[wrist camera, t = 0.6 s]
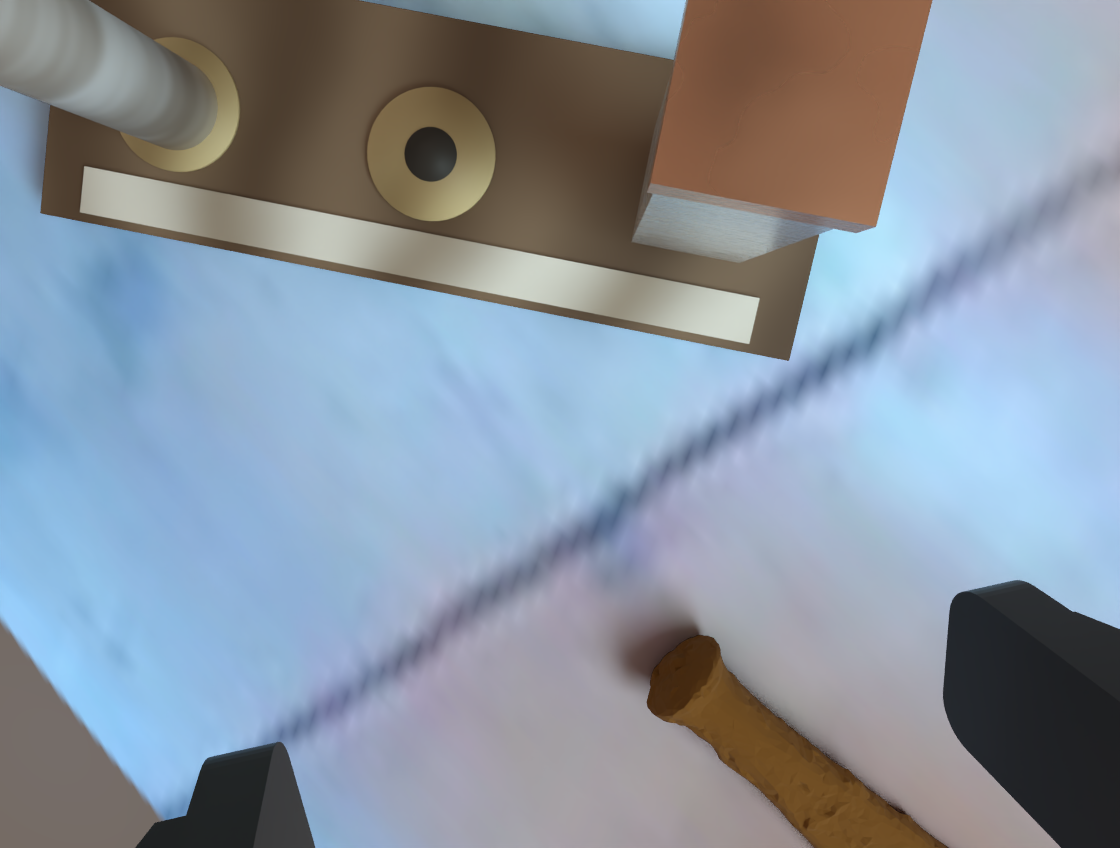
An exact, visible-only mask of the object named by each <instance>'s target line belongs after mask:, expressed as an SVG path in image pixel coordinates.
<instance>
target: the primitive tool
mask: <svg viewBox="0 0 1120 848" xmlns="http://www.w3.org/2000/svg"><path fill="white" fill-rule="evenodd" d="M650 686H651V687H650V691H649V695H648V699H647V706H648V708H649V709H650V711H651V712H652V713H653V714H654V715H655V716H657V717H659V718H660V719H662V720H663V721H666V722H670V723H677V724H679V725H683V726H686V727H688V728H689V729H691V730H692V731H693V732H694V733H695V734H697V735H698V736H699V737H700V738H702V739H704V740H706V741H707V742H708V743H710V744H711V745H712V747H713V748H714V750H715V751H716V752H717V755H718V757H719V759H720V760H721V761H722V762H724V763H725V764H726V765H727V766H728V767H730V768H731V769H733V770H734V771H736V772H737V773H738V774H740V775H741V776H743V777H744V778H746V779H747V780H749V781H750V782H751V783H752V784H753V785H755V786H756V787H757V788H758V789H759V790H760V791H761V792H762V793H763V794H764V795H765V796H766V797H767V798H768V799H769V800H770V801H771V802H772V803H773V804H774V805H775V806H776V807H777V808H778V809H779V810H780V811H781V812H782V813H783V815H784V816H785V817H786V818H787V819H788V821H789V822H790V823H791V824H792V825H793V826H794V827H795V828H796V829H797V830H798V831H799V832H800V833H801V834H802V835H803V836H804V837H805V838H806V839H807V840H808V841H809V842H810V843H811V844H812V845H813V847H814V848H948V847H947V846H945V845H944V844H942V843H941V842H939V841H938V840H936V839H935V838H933V837H932V836H931V835H929V834H928V833H927V832H926V831H924V830H923V829H922V828H921V827H920V826H919V825H918V824H917V823H916V822H915V821H913V820H912V818H911V817H910V816H909V815H905V814H901V813H899V812H898V811H896V810H894V809H893V808H892V807H891V806H890V805H889V804H888V803H887V802H886V801H885V800H884V799H882V798H881V797H879V796H878V795H877V794H875V793H874V792H872V791H871V790H869V789H868V788H867V787H866V786H865V785H863V783H862V782H861V781H859V780H858V779H857V778H856V777H855V776H854V775H853V774H852V773H851V772H850V771H849V770H848V769H844V768H843V767H841V766H840V765H838V764H837V763H835V762H834V761H832V760H831V759H829V758H828V757H826V756H825V755H824V754H823V753H822V752H821V751H820V750H819V749H818V748H816V747H815V746H813V745H812V744H810V742H809V741H808V740H807V739H805V738H804V737H802V736H801V735H799V734H798V733H797V732H796V731H795V730H794V729H792V728H791V727H789V726H788V725H787V724H786V723H785V722H784V721H783V719H782V718H778V717H776V716H775V715H774V714H773V713H772V712H771V711H770V710H769V709H768V708H766V707H765V706H764V705H763V704H762V703H761V702H760V701H759V700H757V699H756V698H755V697H754V696H753V695H752V694H751V693H750V692H749V691H748V690H747V689H746V688H745V687H744V686H743V685H742V684H741V683H740V682H739V681H738V680H737V678H736V677H735V676H734V674H732V673H731V672H729V671H728V670H727V668H726V667H725V665H724V663H723V660H722V657H721V652H720V647H719V644H718V643H717V642H716V641H715V639H714V638H712V637H709V636H703V635H697V636H695V637H693V638H689V639H687V640H685V641H683V642H682V643H680V644H679V645H678V646H677V647H676V648H675V650H673V651H671V652H669V653H668V654H667V655H666V656H665V657H663V659H662V660H661V662H660V663H659V664H658V665H657V666H656V667H655V668H654V670H653V673H652V676H651V680H650Z"/></svg>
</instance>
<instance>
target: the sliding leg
mask: <svg viewBox="0 0 1120 848" xmlns="http://www.w3.org/2000/svg"><path fill="white" fill-rule="evenodd" d="M931 4H932V0H686V3H685V8H684V13H683V18H682V23H681V28H680V33H679V38H678V43H677V47H676V52H675V57H674V62H673V67H672V72H671V75H670V79H669V82H668V85H667V89H666V92H665V95H664V99H663V102H662V105H661V109H660V112H659V115H658V119H657V122H656V125H655V129H654V133H653V138H652V143H651V148H650V153H649V158H648V162H647V167H646V172H645V177H644V182H643V187H642V192H641V197H640V202H639V207H638V212H637V216H636V221H635V226H634V231H633V236H632V241H631V242H634V243H639V244H644V245H650V246H655V247H660V248H665V249H670V250H675V251H680V252H686V253H691V254H696V255H701V256H706V257H711V258H716V259H721V260H727V261H732V262H737V263H741V262H743V261H746V260H749V259H752V258H754V257H757V256H760V255H763V254H765V253H768V252H771V251H774V250H776V249H779V248H782V247H785V246H787V245H790V244H793V243H796V242H798V241H801V240H804V239H807V238H809V237H812V236H815V235H818V234H821V233H823V232H826V231H829V230H832V229H838V230H843V231H849V232H854V233H858V232H861V231H864V230H867V229H870V228H873V227H876V224H877V220H878V216H879V212H880V208H881V204H882V200H883V196H884V192H885V188H886V184H887V180H888V176H889V172H890V168H891V164H892V160H893V156H894V152H895V148H896V144H897V140H898V136H899V132H900V128H901V124H902V120H903V116H904V112H905V108H906V104H907V100H908V96H909V92H910V88H911V84H912V80H913V76H914V72H915V68H916V64H917V60H918V56H919V52H920V48H921V44H922V40H923V36H924V32H925V28H926V24H927V20H928V16H929V12H930V8H931Z"/></svg>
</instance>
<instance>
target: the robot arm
mask: <svg viewBox="0 0 1120 848" xmlns="http://www.w3.org/2000/svg"><path fill="white" fill-rule="evenodd" d="M943 701H944V707H945V711H946V714H947V718H948V720H949V723H950V725H951V727H952V729H953V731H954V733H955V735H956V736H957V738H958V739H959V741H960V742H961V743H962V745H963V746H964V747H965V748H966V749H967V751H968V752H969V753H970V754H971V755H972V756H973V757H974V758H975V759H976V760H977V761H978V762H979V763H980V764H981V765H982V766H983V767H984V768H985V769H986V770H987V771H988V772H989V773H990V774H991V775H992V776H993V777H994V779H995V780H996V781H997V782H998V783H999V784H1000V785H1001V786H1002V787H1003V788H1004V789H1005V790H1006V791H1007V792H1008V793H1009V794H1010V795H1011V796H1012V797H1013V798H1014V799H1015V800H1016V801H1017V802H1018V803H1019V804H1020V805H1021V806H1022V807H1023V809H1024V810H1025V811H1026V812H1027V813H1028V814H1029V815H1030V816H1031V817H1032V818H1033V819H1034V820H1035V821H1036V822H1037V823H1038V824H1039V825H1040V826H1041V827H1042V828H1043V829H1044V830H1045V831H1046V832H1047V833H1048V834H1049V835H1050V836H1051V838H1052V839H1053V840H1054V841H1055V842H1056V843H1057V844H1058V845H1059V846H1060V847H1061V848H1120V629H1118V628H1115V627H1113V626H1110V625H1108V624H1105V623H1102V622H1100V621H1097V620H1095V619H1092V618H1090V617H1087V616H1085V615H1082V614H1080V613H1077V612H1072V611H1071V610H1069V609H1068V608H1066V607H1065V606H1063V605H1062V604H1060V603H1059V602H1057V601H1056V600H1054V599H1053V598H1051V597H1050V596H1048V595H1047V594H1045V593H1044V592H1042V591H1041V590H1039V589H1038V588H1036V587H1035V586H1033V585H1031V584H1030V583H1027V582H1025V581H1020V580H1015V581H1010V582H1005V583H1001V584H996V585H992V586H987V587H983V588H978V589H974V590H969V591H965V592H961V593H959V594H957V595H956V596H955V597H954V599H953V600H952V603H951V606H950V612H949V624H948V637H947V650H946V662H945V675H944V687H943ZM136 848H315V845H314V841H313V838H312V834H311V831H310V827H309V824H308V820H307V817H306V814H305V810H304V807H303V803H302V800H301V796H300V793H299V789H298V786H297V782H296V779H295V775H294V772H293V768H292V765H291V762H290V758H289V755H288V752H287V750H286V748H285V746H284V744H283V743H281V742H276V743H271V744H267V745H262V746H258V747H253V748H249V749H244V750H240V751H235V752H231V753H226V754H222V755H217V756H213V757H209V758H207V759H206V760H205V762H204V763H203V765H202V768H201V770H200V773H199V776H198V780H197V783H196V786H195V789H194V792H193V796H192V799H191V802H190V805H189V808H188V811H187V815H186V816H182V817H178V818H174V819H170V820H165V821H161V822H157V823H154V825H153V826H152V827H151V829H150V830H149V831H148V832H147V834H146V835H145V836H144V838H143V839H142V840H141V841H140V842H139V844H138V845H137V846H136Z"/></svg>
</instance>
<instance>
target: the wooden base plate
mask: <svg viewBox="0 0 1120 848" xmlns="http://www.w3.org/2000/svg"><path fill="white" fill-rule="evenodd" d="M673 62H674V60H671V59H665V58H660V57H655V56H649V55H644V54H639V53H634V52H628V51H623V50H618V49H613V48H607V47H602V46H597V45H591V44H586V43H581V42H576V41H570V40H565V39H560V38H555V37H549V36H544V35H539V34H533V33H528V32H523V31H518V30H512V29H507V28H502V27H496V26H491V25H486V24H481V23H475V22H470V21H465V20H460V19H454V18H449V17H444V16H438V15H433V14H428V13H423V12H417V11H412V10H407V9H402V8H396V7H391V6H386V5H380V4H375V3H370V2H365V1H359V0H0V86H2V87H5V88H8V89H10V90H13V91H16V92H18V93H21V94H23V95H26V96H29V97H31V98H34V99H37V100H39V101H42V102H44V103H47V104H50V114H49V125H48V136H47V147H46V158H45V169H44V180H43V191H42V201H41V212H40V213H42V214H47V215H52V216H57V217H62V218H67V219H72V220H78V221H83V222H88V223H93V224H98V225H103V226H108V227H113V228H118V229H123V230H128V231H133V232H138V233H143V234H148V235H154V236H159V237H164V238H169V239H174V240H179V241H184V242H189V243H194V244H199V245H204V246H209V247H214V248H219V249H225V250H230V251H235V252H240V253H245V254H250V255H255V256H260V257H265V258H270V259H275V260H280V261H285V262H290V263H296V264H301V265H306V266H311V267H316V268H321V269H326V270H331V271H336V272H341V273H346V274H351V275H356V276H361V277H366V278H372V279H377V280H382V281H387V282H392V283H397V284H402V285H407V286H412V287H417V288H422V289H427V290H432V291H437V292H443V293H448V294H453V295H458V296H463V297H468V298H473V299H478V300H483V301H488V302H493V303H498V304H503V305H508V306H513V307H519V308H524V309H529V310H534V311H539V312H544V313H549V314H554V315H559V316H564V317H569V318H574V319H579V320H584V321H590V322H595V323H600V324H605V325H610V326H615V327H620V328H625V329H630V330H635V331H640V332H645V333H650V334H655V335H661V336H666V337H671V338H676V339H681V340H686V341H691V342H696V343H701V344H706V345H711V346H716V347H721V348H726V349H731V350H737V351H742V352H747V353H752V354H757V355H762V356H767V357H772V358H777V359H782V360H787V361H789V358H790V354H791V350H792V346H793V342H794V338H795V333H796V329H797V325H798V321H799V317H800V312H801V308H802V304H803V300H804V296H805V291H806V287H807V283H808V279H809V275H810V271H811V266H812V262H813V258H814V254H815V250H816V245H817V241H818V237H819V234H818V235H815V236H812V237H809V238H807V239H804V240H801V241H798V242H796V243H793V244H790V245H787V246H785V247H782V248H779V249H776V250H774V251H771V252H768V253H765V254H763V255H760V256H757V257H754V258H752V259H749V260H746V261H743V262H741V263H737V262H732V261H727V260H721V259H716V258H711V257H706V256H701V255H696V254H691V253H686V252H680V251H675V250H670V249H665V248H660V247H655V246H650V245H644V244H639V243H634V242H631V241H632V236H633V231H634V226H635V221H636V216H637V212H638V207H639V202H640V197H641V192H642V187H643V182H644V177H645V172H646V167H647V162H648V158H649V153H650V148H651V143H652V138H653V133H654V129H655V125H656V122H657V119H658V115H659V112H660V109H661V105H662V102H663V99H664V95H665V92H666V89H667V85H668V82H669V79H670V75H671V72H672V67H673Z"/></svg>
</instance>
